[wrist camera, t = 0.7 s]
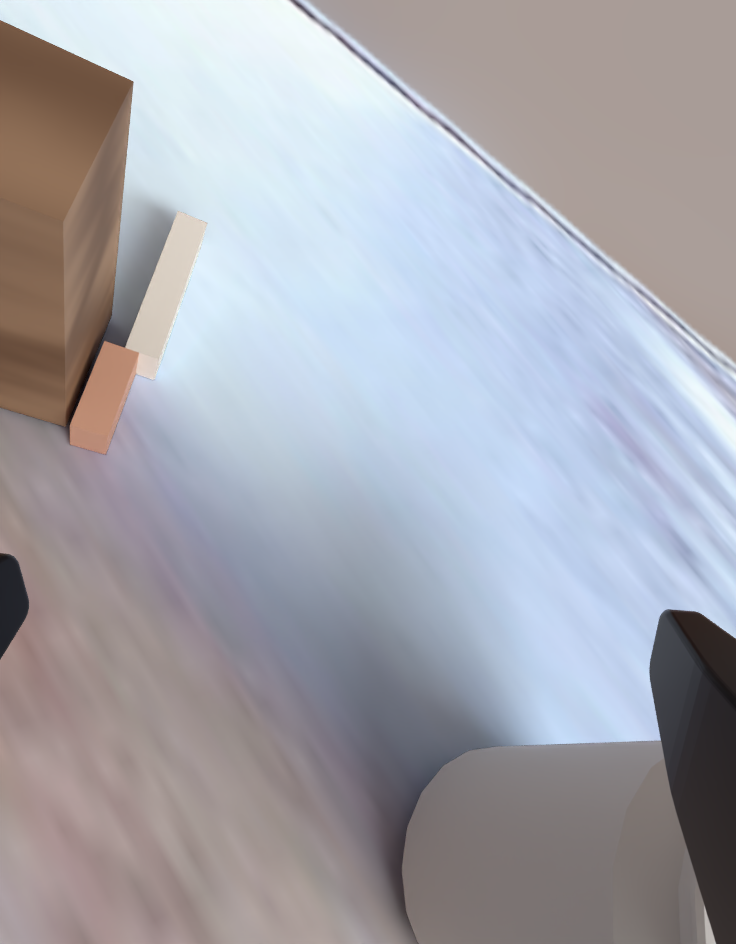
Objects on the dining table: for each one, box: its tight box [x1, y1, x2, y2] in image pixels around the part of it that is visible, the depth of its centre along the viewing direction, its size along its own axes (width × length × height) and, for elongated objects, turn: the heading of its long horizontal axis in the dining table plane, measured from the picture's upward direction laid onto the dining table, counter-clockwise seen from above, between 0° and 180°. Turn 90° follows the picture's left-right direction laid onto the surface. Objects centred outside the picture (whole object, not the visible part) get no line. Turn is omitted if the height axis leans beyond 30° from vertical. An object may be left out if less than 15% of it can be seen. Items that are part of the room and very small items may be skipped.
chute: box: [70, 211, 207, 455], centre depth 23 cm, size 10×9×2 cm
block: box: [0, 20, 133, 427], centre depth 18 cm, size 5×5×10 cm
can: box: [402, 741, 716, 944], centre depth 17 cm, size 8×8×12 cm
